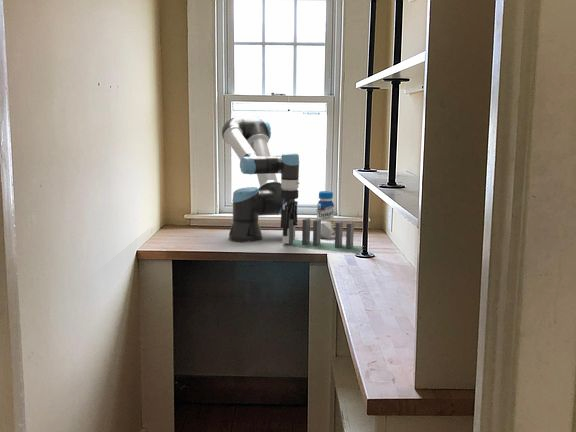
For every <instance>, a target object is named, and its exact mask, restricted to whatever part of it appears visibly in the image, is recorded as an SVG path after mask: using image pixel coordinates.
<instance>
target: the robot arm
mask: <svg viewBox="0 0 576 432" xmlns="http://www.w3.org/2000/svg"><path fill="white" fill-rule="evenodd" d="M270 125H271V124H270V123H269V121H268V120H267V118H265V117H259V116H257V117H256V116H255V117H243V116H240V117H239V116H238V117H237V116H235V117H232V118H230V119H228V120H227V121H226V122H225V123H224V124H223V126H222V129H221V137H222V139H223V141H224V142H225V144H227V145H229V147H231V148H232V150H233V151H234V153H235V154H236V156H237V157H238V159H239V161H240V162H239V168H240V172H241V173H242V174H244V175H256V176H257V179H258V183H259V187H258V186H257V187H256V186H250V187H249V186H247V187H241V188H238V189H235V191H233V193H232V223H231V227H230V230H229V234H228V240H229V241H233V242H238V243H246V242H251V243H252V242H257V241H261V240H263V233H262V229H261V226H260V224H259V217H260V216H261V217H262V216H275V215H276V216H279V215H280V228H281V229H282V244H285V243H289V228H288V226H289V219H293V240H296V226H298V203H299V202H298V201H297V199H299V185H300V181H299V177H300V175H299V174H300V155H299V154H298V153H296V152H295V153H294V152H284V153H282V155H274V156H271V153H270V149H269V147H268V143H269V141H270V139H271V138H272V137H271V136H272V131H271V130H272V129H271V126H270ZM276 174H280V175H281V176H280V182H279V180H278V178H277V175H276Z"/></svg>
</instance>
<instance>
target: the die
mask: <svg viewBox="0 0 576 432" xmlns="http://www.w3.org/2000/svg"><path fill="white" fill-rule="evenodd" d="M333 234H335V230H334V226H333V227H332V224H331V222H325V221H321V239H330V238H331V236H333Z"/></svg>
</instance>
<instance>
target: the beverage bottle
mask: <svg viewBox="0 0 576 432" xmlns="http://www.w3.org/2000/svg"><path fill="white" fill-rule="evenodd" d="M333 194H334V193H333V191H330V190H323V191H318V202H317V205H316V207H317V209H316V219H321V221H325V222H331V224H332V227H333V228H334V215H335V210H334V208H335V204H334V202H333V198H334V195H333Z"/></svg>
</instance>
